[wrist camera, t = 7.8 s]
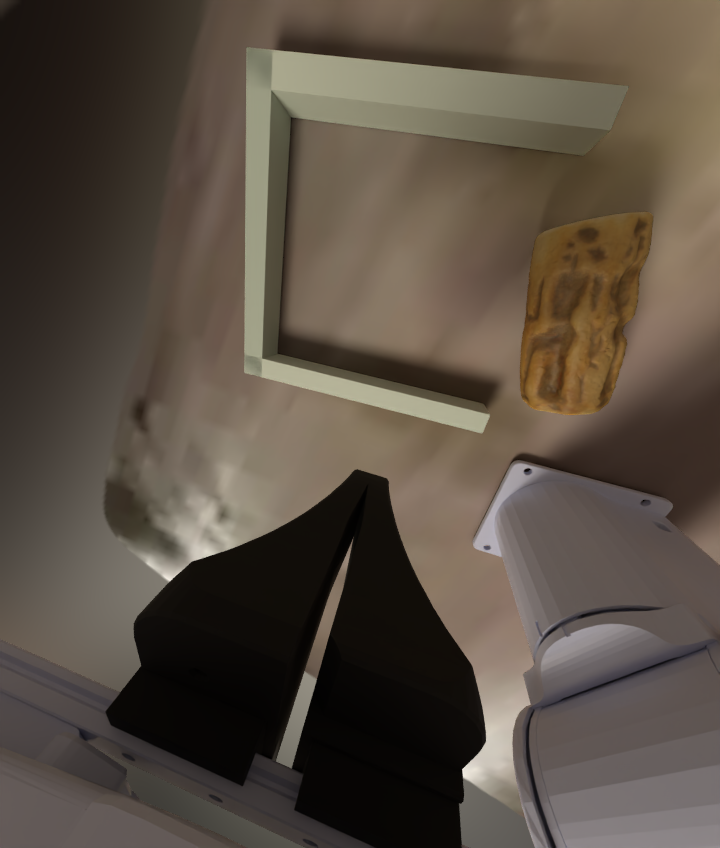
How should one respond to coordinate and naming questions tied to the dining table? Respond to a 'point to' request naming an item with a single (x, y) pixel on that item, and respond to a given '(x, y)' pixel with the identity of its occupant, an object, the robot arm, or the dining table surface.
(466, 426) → the pale grey flat frame
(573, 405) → the carved stone cylinder
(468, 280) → the dining table surface
